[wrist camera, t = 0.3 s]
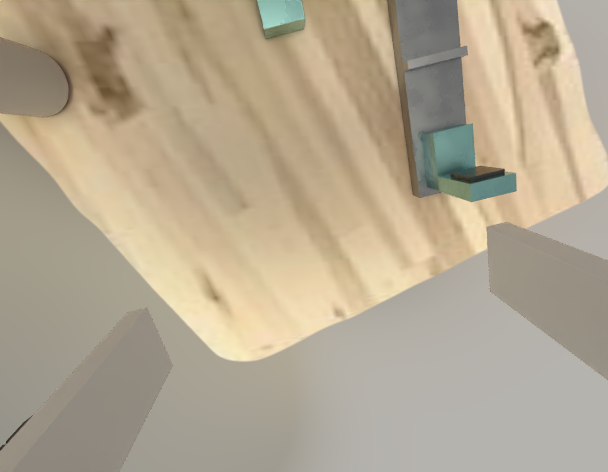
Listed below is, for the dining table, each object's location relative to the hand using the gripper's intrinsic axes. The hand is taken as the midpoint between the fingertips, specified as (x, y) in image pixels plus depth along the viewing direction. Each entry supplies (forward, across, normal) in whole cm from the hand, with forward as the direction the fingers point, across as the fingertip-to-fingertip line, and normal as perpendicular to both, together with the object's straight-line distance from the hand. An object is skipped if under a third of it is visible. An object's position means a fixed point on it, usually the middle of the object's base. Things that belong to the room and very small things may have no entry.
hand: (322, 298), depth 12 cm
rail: (+26, +16, +8) cm, 32 cm away
